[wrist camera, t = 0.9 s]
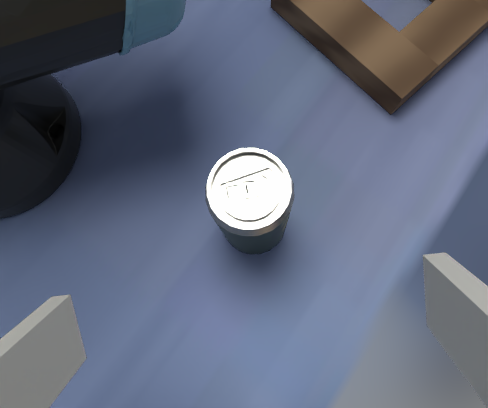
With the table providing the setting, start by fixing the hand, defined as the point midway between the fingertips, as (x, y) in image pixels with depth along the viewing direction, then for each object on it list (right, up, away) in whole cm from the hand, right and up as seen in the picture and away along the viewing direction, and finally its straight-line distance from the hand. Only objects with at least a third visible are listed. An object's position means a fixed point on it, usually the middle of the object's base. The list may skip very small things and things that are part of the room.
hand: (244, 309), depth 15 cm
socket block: (+14, +23, +24) cm, 36 cm away
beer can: (+1, +2, +20) cm, 20 cm away
